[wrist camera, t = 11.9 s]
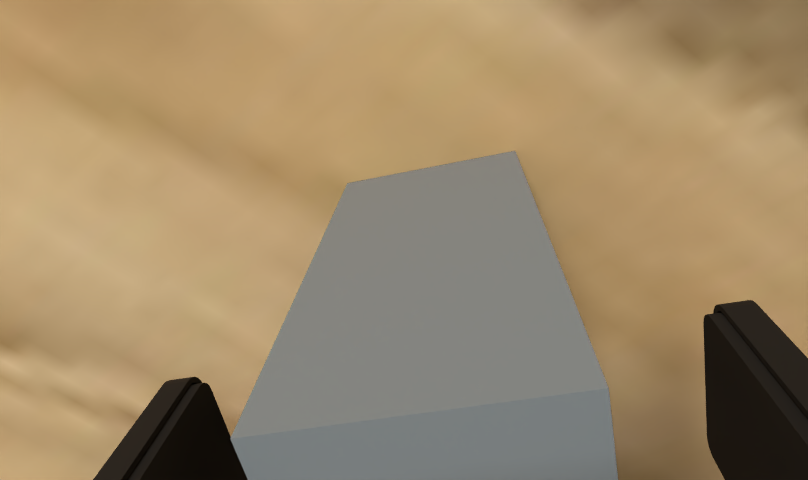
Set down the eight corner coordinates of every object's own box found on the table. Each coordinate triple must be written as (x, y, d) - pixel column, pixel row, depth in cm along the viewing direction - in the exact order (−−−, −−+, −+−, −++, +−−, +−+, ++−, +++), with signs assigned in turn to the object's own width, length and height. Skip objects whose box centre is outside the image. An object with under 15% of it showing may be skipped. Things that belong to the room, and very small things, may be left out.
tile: (525, 219, 20) (621, 513, 9) (364, 247, 21) (277, 548, 10) (515, 150, 19) (608, 388, 8) (347, 183, 20) (230, 439, 9)
